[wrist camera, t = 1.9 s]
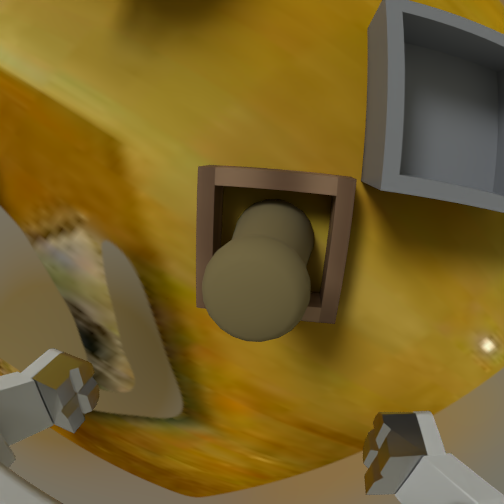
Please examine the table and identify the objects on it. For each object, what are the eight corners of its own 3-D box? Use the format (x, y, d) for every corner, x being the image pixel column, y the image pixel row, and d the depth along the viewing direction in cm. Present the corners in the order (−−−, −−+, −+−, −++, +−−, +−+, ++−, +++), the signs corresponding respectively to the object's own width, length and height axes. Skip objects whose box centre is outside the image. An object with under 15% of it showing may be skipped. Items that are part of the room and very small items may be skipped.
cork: (327, 256, 24) (342, 333, 13) (257, 288, 26) (227, 375, 15) (290, 184, 23) (280, 210, 12) (219, 222, 24) (159, 273, 14)
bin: (361, 181, 22) (380, 190, 16) (367, 28, 18) (385, -5, 12) (493, 204, 20) (535, 220, 15) (499, 66, 17) (538, 53, 11)
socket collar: (205, 293, 26) (196, 307, 24) (208, 165, 23) (198, 166, 21) (332, 308, 25) (334, 323, 23) (350, 176, 22) (356, 179, 19)
